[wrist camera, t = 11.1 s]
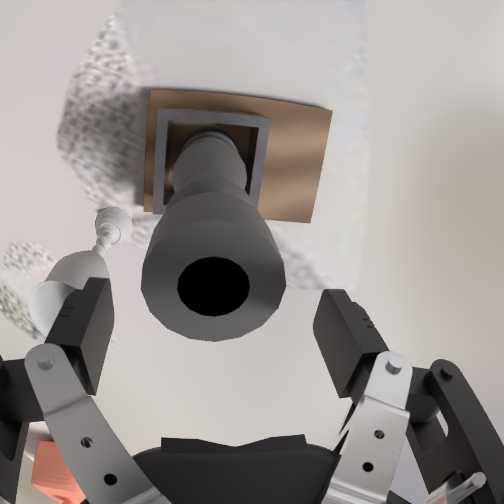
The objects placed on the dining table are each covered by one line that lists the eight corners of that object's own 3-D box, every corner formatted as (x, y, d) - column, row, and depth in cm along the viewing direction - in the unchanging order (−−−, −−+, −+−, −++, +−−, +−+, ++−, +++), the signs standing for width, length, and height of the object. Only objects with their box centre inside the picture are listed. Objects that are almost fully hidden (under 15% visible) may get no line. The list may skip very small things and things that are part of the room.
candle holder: (168, 155, 34) (104, 289, 12) (209, 115, 32) (213, 176, 10) (208, 192, 36) (215, 364, 15) (249, 155, 35) (322, 284, 13)
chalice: (149, 241, 40) (121, 341, 24) (105, 258, 40) (62, 357, 24) (124, 189, 36) (70, 268, 20) (79, 211, 36) (13, 294, 21)
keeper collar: (165, 106, 31) (158, 108, 27) (262, 114, 33) (271, 118, 28) (159, 197, 36) (152, 213, 31) (249, 203, 38) (255, 220, 33)
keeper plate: (152, 89, 31) (150, 89, 30) (328, 109, 35) (332, 110, 33) (145, 207, 38) (143, 211, 36) (306, 218, 41) (310, 223, 40)
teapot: (136, 477, 73) (134, 529, 57) (73, 473, 72) (67, 520, 56) (98, 438, 61) (89, 503, 45) (28, 433, 59) (15, 487, 44)
